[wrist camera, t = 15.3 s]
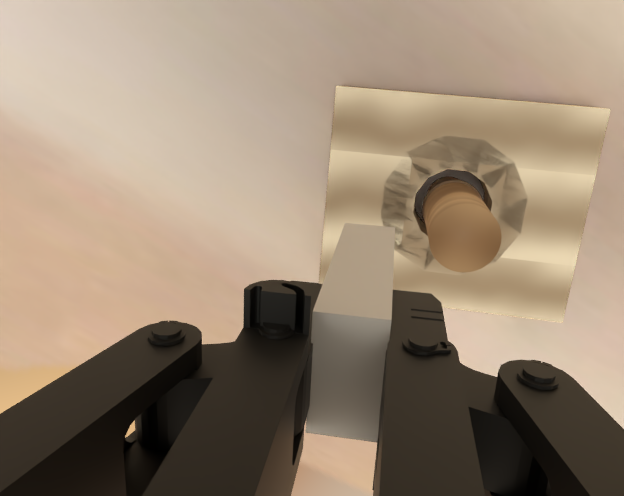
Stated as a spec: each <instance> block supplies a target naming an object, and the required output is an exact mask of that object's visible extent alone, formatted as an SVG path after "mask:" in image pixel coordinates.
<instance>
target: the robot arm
mask: <svg viewBox="0 0 624 496" xmlns="http://www.w3.org/2000/svg"><path fill="white" fill-rule="evenodd" d="M394 243H395V227H386V226H375V225H364V224H352V223H345V224H344V227H343V230H342V232H341V235H340V238H339V241H338V243H337V246H336V249H335V252H334V254H333V257H332V260H331V263H330V265H329V268H328V271H327V273H326V276H325V279H324V282H323V284H319V283H309V282H299V281H284V280H268V281H260V282H256V283H253V284H250V285H249V286H248V287H246V288H245V289H244V328H243V329H242V331H241V333H240V334H239V336H238V338H237V339H236V341H235V342H230V343H221V344H203V345H202V334H201V331H200V330H199V329H198V328H197V327H195V326H192V325H190V324H187V323H181V322H178V321H169V322H168V321H161V322H159V323H155V324H151V325H147V326H145V327H143V328H141V329H138V330H137V331H135V332H133V333H132V334H130V335H129V336H127V337H125V338H124V339H122V340H120V341H119V342H117V343H115V344H114V345H112V346H111V347H109V348H107V349H106V350H104V351H102V352H101V353H99V354H97V355H96V356H94V357H93V358H91V359H89V360H88V361H86V362H84V363H83V364H81V365H79V366H78V367H76V368H75V369H73V370H71V371H70V372H68V373H66V374H65V375H63V376H61V377H60V378H58V379H57V380H55V381H53V382H52V383H50V384H48V385H47V386H45V387H43V388H42V389H40V390H39V391H37V392H35V393H34V394H32V395H30V396H29V397H27V398H25V399H24V400H22V401H21V402H19V403H17V404H16V405H14V406H12V407H11V408H9V409H7V410H6V411H4V412H3V413H1V414H0V496H291V492H292V488H293V484H294V481H295V476H296V473H297V469H298V465H299V461H300V457H301V453H302V449H303V437H304V425H305V421H306V417H307V422H306V433H313V434H320V435H327V436H335V437H342V438H349V439H357V440H364V441H371V442H377V452H376V462H375V471H374V481H373V490H374V492H373V496H624V429H623V428H622V427H621V426H620V425H619V424H618V423H617V422H616V421H615V420H614V419H613V418H612V417H611V416H610V415H609V414H608V413H607V412H606V411H605V410H604V409H603V408H602V407H601V406H600V405H599V404H598V403H597V402H596V401H595V400H594V399H593V398H592V397H591V396H590V395H589V394H588V393H587V392H586V391H585V390H584V389H583V388H582V387H581V386H580V385H579V384H578V383H577V382H576V381H575V380H574V379H573V378H572V377H571V376H569V375H568V374H567V373H565V372H564V371H562V370H560V369H558V368H556V367H553V366H552V365H551V364H548V363H545V362H543V363H541V361H536V360H531V361H529V360H515V361H509V362H507V363H505V364H503V365H501V367H500V369H499V371H498V377H495V376H491V375H488V374H484V373H481V372H478V371H475V370H472V369H470V368H468V367H466V366H464V365H463V364H461V363H460V362H459V357H458V352H457V350H456V348H455V346H454V345H453V344H452V343H450V342H449V341H448V339H447V333H446V327H445V322H444V316H443V310H442V304H441V302H440V301H439V300H438V299H437V298H436V297H435V296H434V295H432V294H431V293H421V292H412V291H402V290H393V269H394ZM134 420H135V431H134V432H133V433H131V434H130V435H129V436H128V437H126V438H125V435H126V433H127V431H128V429H129V426H130V425H131V423H132V422H133V421H134Z"/></svg>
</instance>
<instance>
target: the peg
mask: <svg viewBox="0 0 624 496" xmlns="http://www.w3.org/2000/svg"><path fill="white" fill-rule="evenodd" d="M422 214H423V219H424V222H425V224H426V229H427V234H428V240H429V246H430V249H431V252H432V254H433V256H434V257H435V259H436V260H437V261H438V262H439V263H440V264H441V265H442V266H444V267H445V268H447V269H449V270H452V271H456V272H472V271H476V270H479V269H481V268H483V267H485V266H486V265H487V264H489V263H490V262H491V261H492V260H493V259H494V257H495V256H496V255H497V253H498V251H499V248H500V245H501V239H502V238H501V229H500V226H499V224H498V222H497V220H496V219H495V217H494V216H493V214H492V213H491V212H490V210H489V209H488V207H487V206H486V205H485V203H484V202H483V199H482V197H481V195H480V193H479V192H478V191H477V190H476V188H475V187H473V186H472V185H471V184H469V183H467V182H465V181H462V180H459V179H457V178H454V177H444V178H440V179H438V180H437V181H435V182H434V183H433V184H432V185H431V186H430V188H429V190H428V192H427V195H426V197H425V199H424V202H423V206H422Z"/></svg>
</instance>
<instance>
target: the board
mask: <svg viewBox="0 0 624 496" xmlns="http://www.w3.org/2000/svg"><path fill="white" fill-rule="evenodd" d="M610 110H611V109H607V108H598V107H589V106H577V105H565V104H553V103H541V102H529V101H517V100H505V99H493V98H482V97H470V96H458V95H446V94H434V93H422V92H410V91H398V90H386V89H374V88H362V87H351V86H336V92H335V103H334V115H333V126H332V137H331V149H330V160H329V172H328V183H327V194H326V206H325V217H324V228H323V240H322V251H321V263H320V274H319V284H323V282H324V279H325V276H326V273H327V271H328V268H329V265H330V263H331V260H332V257H333V254H334V252H335V249H336V246H337V243H338V241H339V238H340V235H341V232H342V230H343V227H344V224H345V223H352V224H364V225H375V226H386V227H395V243H394V269H393V290H402V291H412V292H421V293H431V294H432V295H434V296H435V297H436V298H437V299H438V300H439V301H440V302H441V304H442V307H444V308H452V309H459V310H467V311H475V312H482V313H490V314H498V315H506V316H513V317H521V318H529V319H536V320H544V321H552V322H560V323H563V318H564V314H565V309H566V305H567V301H568V296H569V292H570V287H571V283H572V278H573V274H574V270H575V265H576V261H577V256H578V252H579V247H580V243H581V239H582V234H583V230H584V225H585V221H586V216H587V212H588V208H589V203H590V199H591V194H592V190H593V185H594V181H595V177H596V172H597V168H598V163H599V159H600V154H601V150H602V146H603V141H604V137H605V132H606V128H607V123H608V119H609V115H610ZM447 169H450V170H460V171H469V172H470V173H472V174H473V175H474V176H476V177H477V178H478V179H480V181H481V184H482V186H483V189H484V191H485V194H484V200H483V202H484V203H485V205H486V206H487V207H488V209H489V210H490V212H491V213H492V214H493V216H494V217H495V219H496V220H497V222H498V224H499V226H500V229H501V238H502V239H501V245H500V248H499V251H498V253H497V255H496V256H495V257H494V259H493V260H492V261H491V262H490V263H489V264H487V265H486V266H485V267H483V268H481V269H479V270H476V271H472V272H456V271H452V270H449V269H447V268H445V267H444V266H442V265H441V264H440V263H439V262H438V261H437V260H436V259H435V257H434V256H433V254H432V252H431V249H430V246H429V240H428V234H427V229H426V224H425V223H424V222H423V221H421V220H420V219H419V217H418V215H417V212H416V210H415V208H414V204H415V196H416V193H417V192H418V190H419V189H420V188H421V186H422V185H423V184H424V183H425V181H426V180H427V179H428V177H431V176H433V175H435V174H438V173H440V172H442V171H445V170H447Z"/></svg>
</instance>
